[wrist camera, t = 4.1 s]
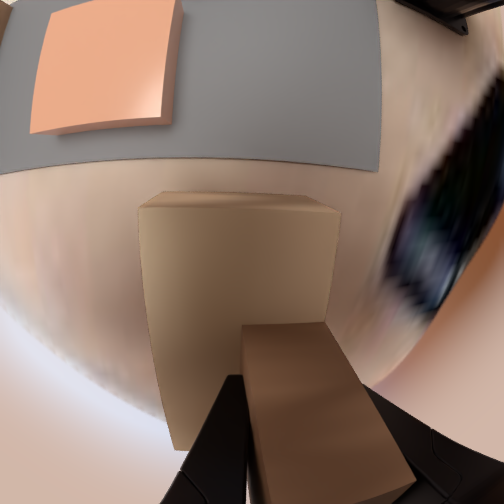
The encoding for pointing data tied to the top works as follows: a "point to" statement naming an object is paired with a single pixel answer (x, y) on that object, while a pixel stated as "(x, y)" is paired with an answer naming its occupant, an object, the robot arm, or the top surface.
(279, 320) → the two-tone stepped block
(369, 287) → the top surface
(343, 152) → the slate board
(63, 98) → the tile
